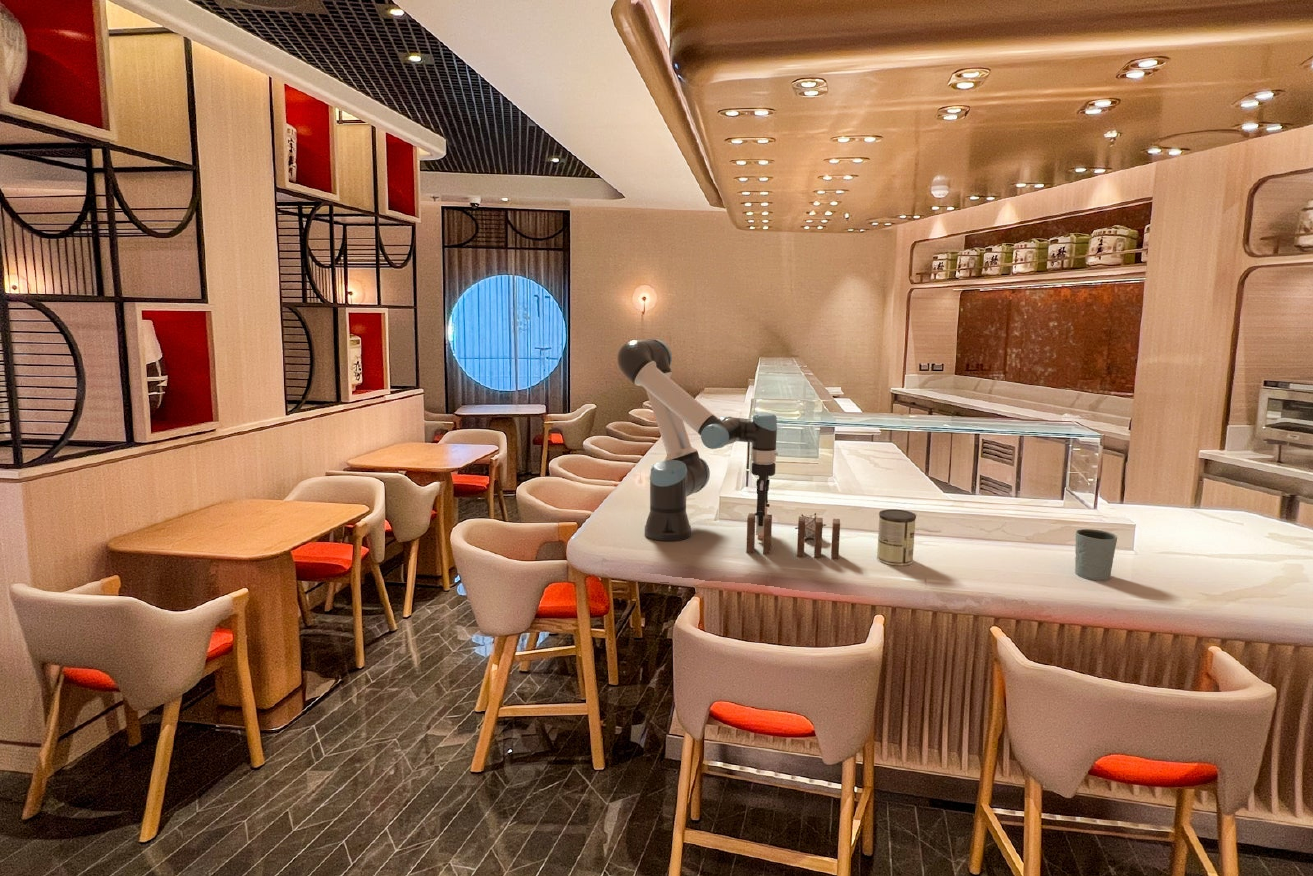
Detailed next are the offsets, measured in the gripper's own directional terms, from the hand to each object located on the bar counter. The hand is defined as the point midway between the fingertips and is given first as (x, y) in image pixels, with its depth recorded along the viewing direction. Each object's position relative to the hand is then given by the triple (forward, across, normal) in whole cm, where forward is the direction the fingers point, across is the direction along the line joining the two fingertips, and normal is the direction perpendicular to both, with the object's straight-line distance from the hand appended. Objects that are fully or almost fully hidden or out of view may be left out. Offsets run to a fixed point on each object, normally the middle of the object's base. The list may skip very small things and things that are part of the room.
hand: (761, 530), depth 245 cm
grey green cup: (+2, -14, -93) cm, 94 cm away
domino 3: (+2, -15, -3) cm, 15 cm away
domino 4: (+2, -15, -13) cm, 20 cm away
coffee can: (+2, -14, -40) cm, 42 cm away
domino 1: (+2, -15, +2) cm, 15 cm away
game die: (+2, +2, -15) cm, 16 cm away
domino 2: (+2, 0, 0) cm, 2 cm away
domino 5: (+2, -15, -18) cm, 23 cm away
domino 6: (+2, -15, -23) cm, 27 cm away
